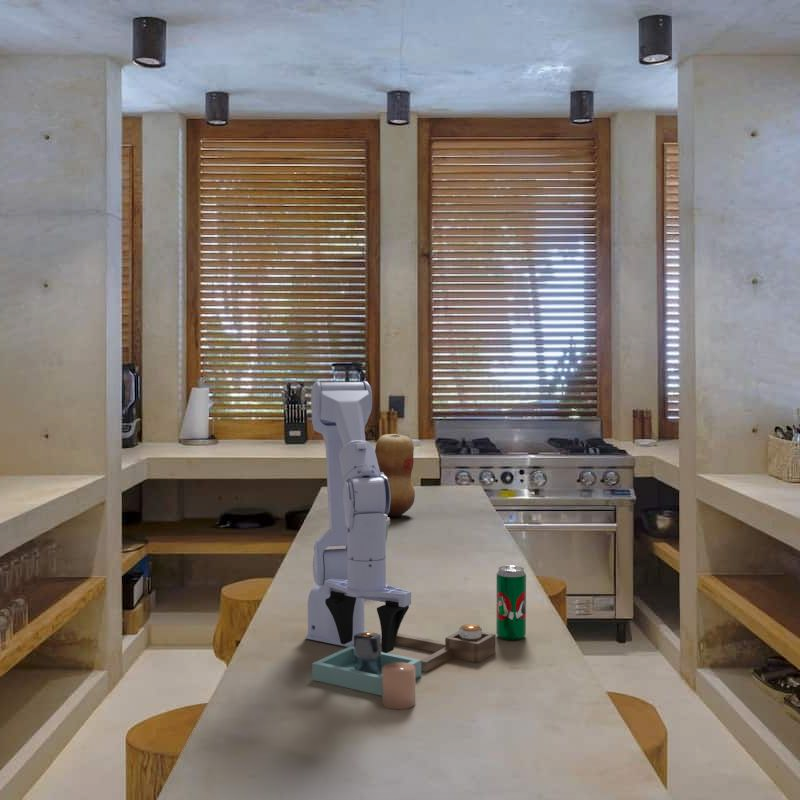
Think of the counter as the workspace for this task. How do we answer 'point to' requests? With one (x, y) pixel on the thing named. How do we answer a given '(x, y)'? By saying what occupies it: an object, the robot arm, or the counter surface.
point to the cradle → (426, 644)
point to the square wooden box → (471, 647)
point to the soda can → (511, 603)
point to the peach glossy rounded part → (398, 685)
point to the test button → (470, 632)
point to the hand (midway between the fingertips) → (366, 646)
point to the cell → (367, 652)
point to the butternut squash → (397, 470)
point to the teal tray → (355, 671)
